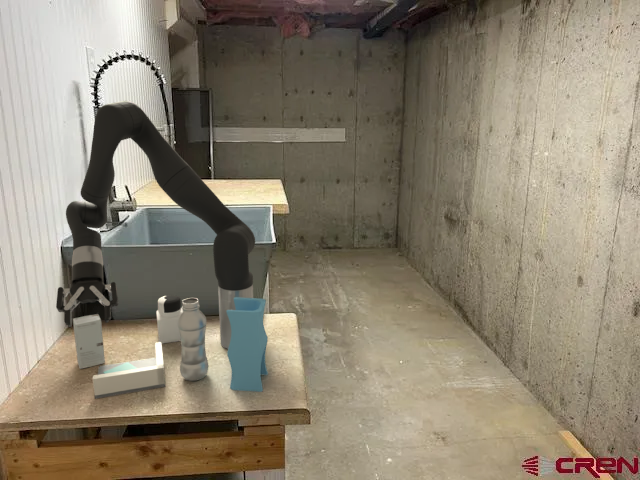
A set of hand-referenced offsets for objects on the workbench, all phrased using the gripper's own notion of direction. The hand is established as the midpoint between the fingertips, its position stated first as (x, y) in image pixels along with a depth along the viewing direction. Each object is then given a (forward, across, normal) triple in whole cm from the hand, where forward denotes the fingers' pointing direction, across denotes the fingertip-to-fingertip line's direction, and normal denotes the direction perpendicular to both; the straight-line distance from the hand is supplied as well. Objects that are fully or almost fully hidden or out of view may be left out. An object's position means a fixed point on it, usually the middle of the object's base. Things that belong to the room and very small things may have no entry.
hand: (88, 323), depth 120 cm
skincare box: (+9, 0, +5) cm, 10 cm away
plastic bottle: (+19, +24, -5) cm, 31 cm away
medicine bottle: (+3, +20, +11) cm, 23 cm away
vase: (+23, +36, -10) cm, 44 cm away
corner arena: (+16, +10, -2) cm, 19 cm away
